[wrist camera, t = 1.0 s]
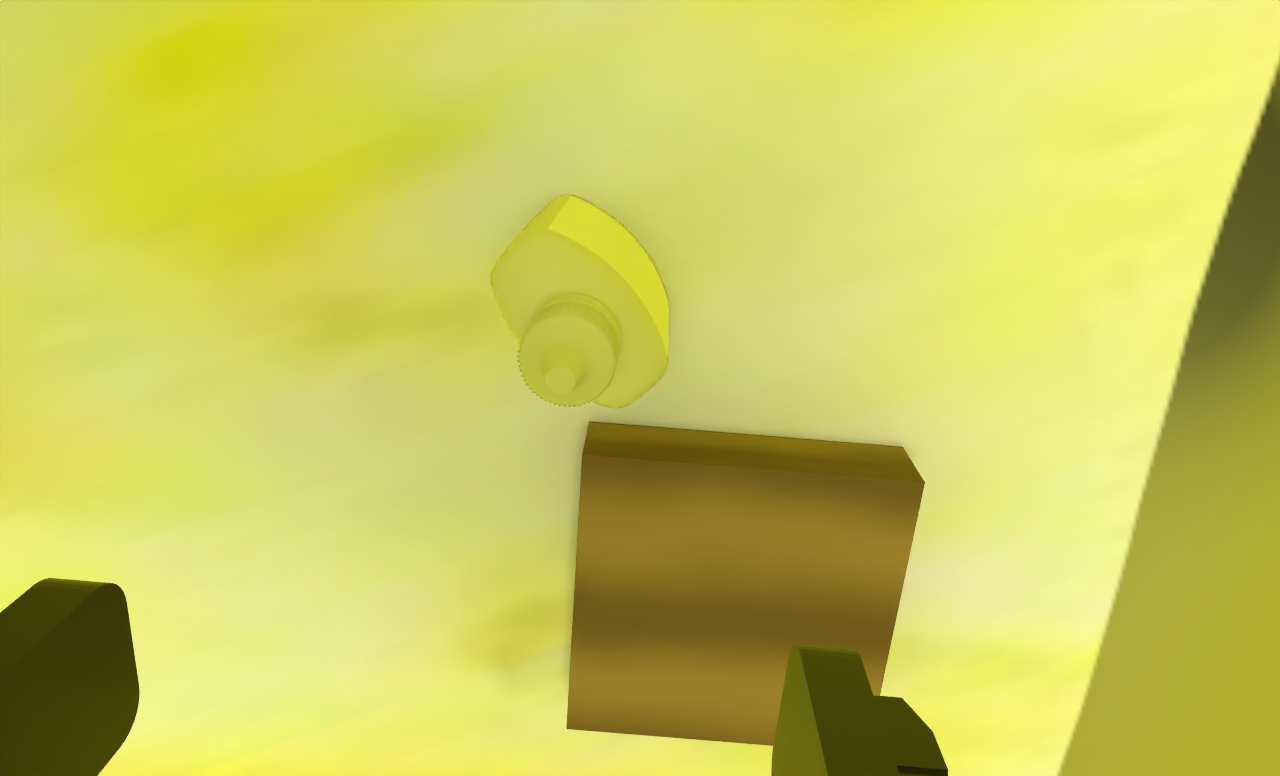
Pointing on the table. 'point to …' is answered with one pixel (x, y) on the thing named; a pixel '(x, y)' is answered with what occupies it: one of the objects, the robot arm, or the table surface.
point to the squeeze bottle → (583, 307)
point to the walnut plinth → (728, 573)
